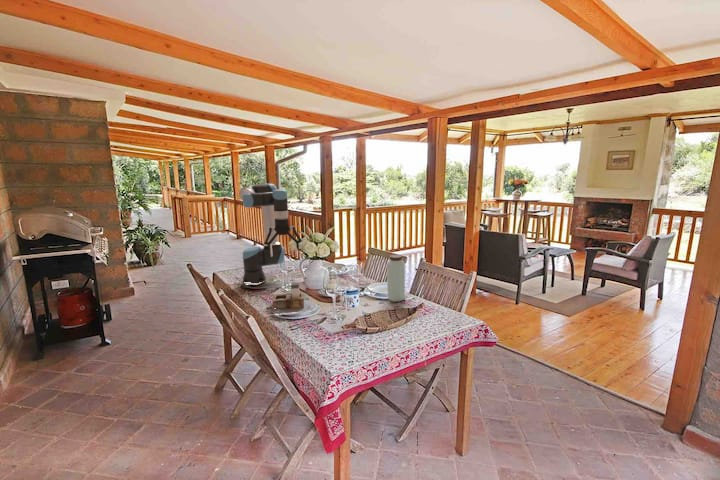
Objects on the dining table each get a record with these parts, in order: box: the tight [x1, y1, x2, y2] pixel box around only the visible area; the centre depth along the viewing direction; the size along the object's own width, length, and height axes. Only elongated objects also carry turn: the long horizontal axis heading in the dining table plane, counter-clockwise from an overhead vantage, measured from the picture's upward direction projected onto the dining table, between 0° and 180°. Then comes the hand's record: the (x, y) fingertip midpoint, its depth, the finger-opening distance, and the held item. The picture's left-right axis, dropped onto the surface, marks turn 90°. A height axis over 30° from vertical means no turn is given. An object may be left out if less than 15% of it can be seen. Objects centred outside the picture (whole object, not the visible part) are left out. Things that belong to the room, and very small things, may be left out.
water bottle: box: [386, 254, 406, 302], centre depth 198 cm, size 10×10×25 cm
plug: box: [290, 281, 301, 298], centre depth 193 cm, size 4×4×12 cm
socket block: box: [272, 291, 305, 310], centre depth 193 cm, size 10×16×6 cm, turn 99°
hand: (284, 255), depth 199 cm, fingers open, 13 cm apart
